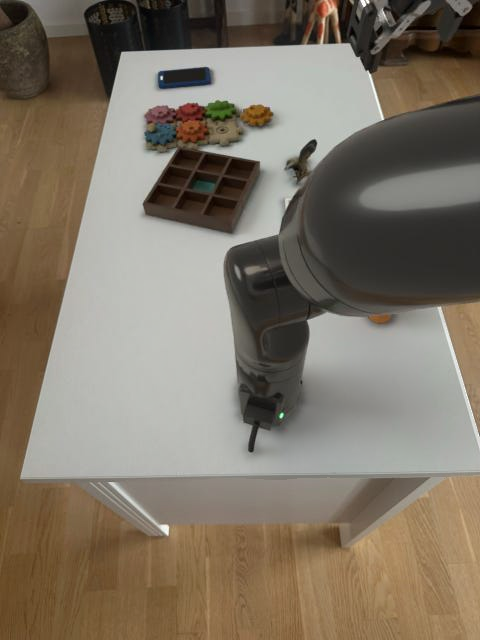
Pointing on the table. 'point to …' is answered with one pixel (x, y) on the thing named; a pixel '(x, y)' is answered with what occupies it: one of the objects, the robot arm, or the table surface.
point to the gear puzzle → (199, 124)
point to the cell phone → (184, 77)
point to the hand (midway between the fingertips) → (405, 50)
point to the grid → (203, 189)
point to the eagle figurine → (302, 161)
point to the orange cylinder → (380, 318)
